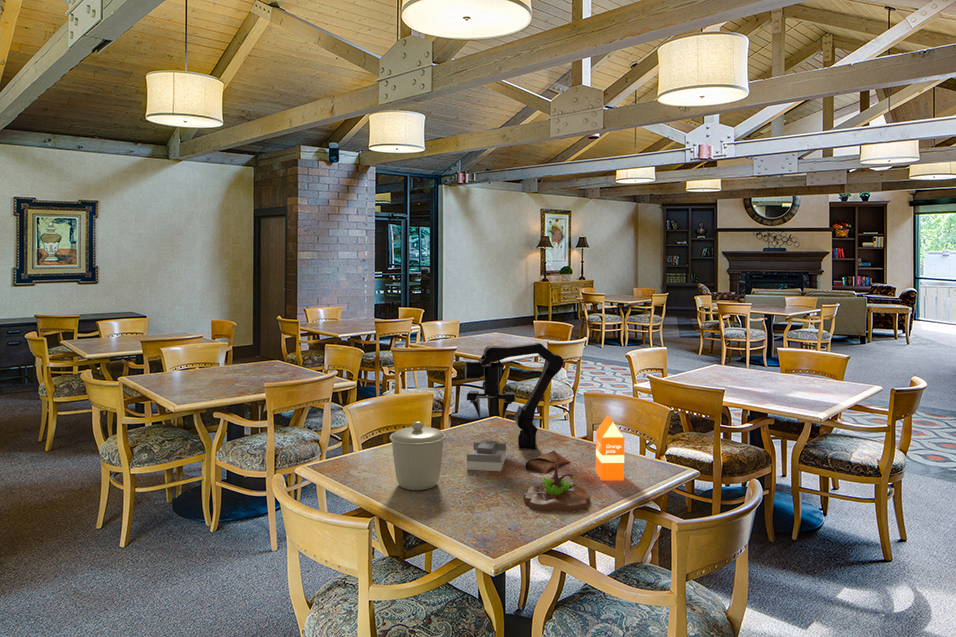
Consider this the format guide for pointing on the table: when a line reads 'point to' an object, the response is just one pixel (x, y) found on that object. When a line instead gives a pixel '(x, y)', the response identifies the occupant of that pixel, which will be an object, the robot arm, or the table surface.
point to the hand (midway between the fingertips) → (491, 418)
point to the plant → (557, 495)
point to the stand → (487, 459)
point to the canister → (417, 456)
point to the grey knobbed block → (487, 447)
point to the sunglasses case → (546, 462)
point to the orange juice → (609, 451)
